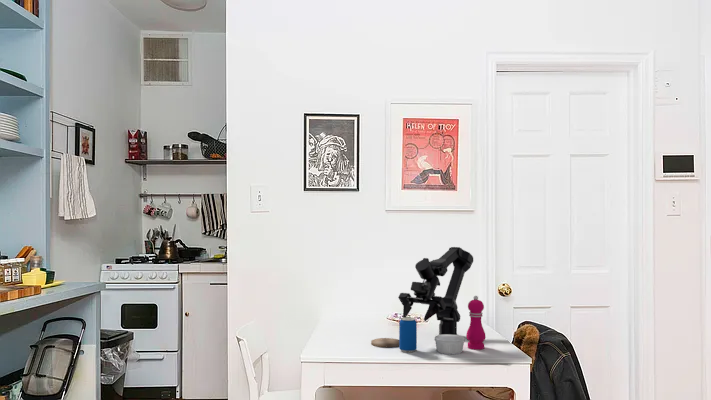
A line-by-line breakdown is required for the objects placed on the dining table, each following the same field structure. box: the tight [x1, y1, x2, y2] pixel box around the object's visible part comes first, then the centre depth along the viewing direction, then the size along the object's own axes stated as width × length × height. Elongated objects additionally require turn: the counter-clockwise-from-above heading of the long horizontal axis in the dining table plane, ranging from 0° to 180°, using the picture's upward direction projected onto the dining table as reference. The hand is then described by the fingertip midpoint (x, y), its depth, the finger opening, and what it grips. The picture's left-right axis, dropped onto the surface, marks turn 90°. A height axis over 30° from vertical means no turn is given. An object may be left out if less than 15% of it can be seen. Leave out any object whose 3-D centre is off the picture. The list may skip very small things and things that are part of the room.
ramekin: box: [434, 334, 466, 355], centre depth 211 cm, size 11×11×5 cm
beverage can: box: [398, 316, 418, 353], centre depth 212 cm, size 6×6×12 cm
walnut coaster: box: [370, 337, 399, 348], centre depth 222 cm, size 12×12×1 cm
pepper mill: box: [465, 295, 486, 351], centre depth 216 cm, size 7×7×20 cm
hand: (414, 318), depth 215 cm, fingers open, 9 cm apart
